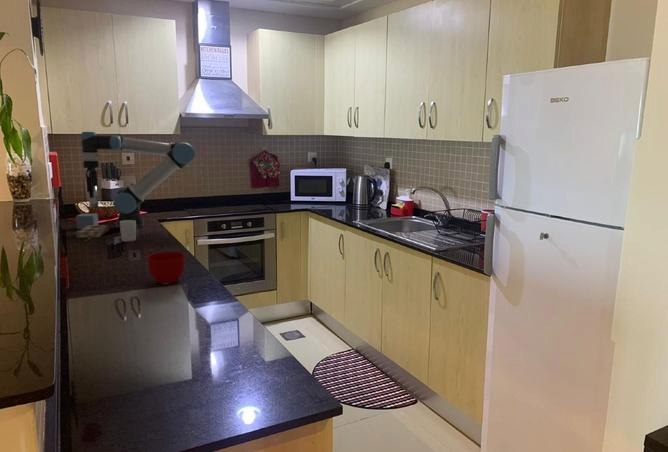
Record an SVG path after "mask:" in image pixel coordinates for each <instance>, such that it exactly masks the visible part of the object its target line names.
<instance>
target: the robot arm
mask: <svg viewBox="0 0 668 452" xmlns="http://www.w3.org/2000/svg"><path fill="white" fill-rule="evenodd" d="M81 149H82V165H83V168H85V169H86V170H87V171H86V173H85V179H86V181H85V182H86V192H87V193H88V199H89V200H88V202H89V201H90V204H95V192H94V186H97V191H100V189H99V177H98V174H99V173H98V171H97V170H96V169H98V168H99V165H100V164H99V161H98V160H99V157H100V155H99V152H98V151H99V150H106V151H107V150H109V151H110V150H113V151H115V150H118V151H125V152H133V153H141V154H149V155H156V156H163V157H165V158H163V160H161V162H159V163H158V164H157V165H156V166H154V167H153V168H152V169H151V170H150V171H148V172H147V173H146V174H145V175H144V176H142V177H141V178H140V179H139V180H138V181H137V182H136V183H135V184H133V185H127V187H120V188H119V187H118V189H117V195H115V197H114V199H113V207H114V208H115V209H116V211H117V212H118V216H117V221H116V224H115V225H116V229H120V223H119V222H120V221H124V220H135V221H136V229H139V228H143V227H144V226H145V221H144V219H143V217H142V215H141V207H140V205H141V204H142V203H143V202H145V197H146V196H148V194H150V193H151V192H152V191H153V190H154V189H156V188H157V187H158V186H159V185H160V184H161V183H163V182H164V181H165V180H166V179H167V178H168V177H170V176H171V175H172V174H173V173H174V172H176V171H177V170H182V169H183V168H184V167H185V166H187V165H188V164H190V163H191V162H193V160H194V158H195V155H196V152H195V149H194V146H192V144H190V143H188V142H184V141H182V142H174V141H170V142H160V141H154V140H153V141H152V140H145V139H139V138H134V137H127V136H125V137H124V136H119V135H113V134H112V135H98V134H97V131H82V132H81Z"/></svg>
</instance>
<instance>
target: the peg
mask: <svg viewBox="0 0 668 452" xmlns="http://www.w3.org/2000/svg"><path fill="white" fill-rule="evenodd" d="M94 192H95V204H90V201H89V200H88V203H89V209H99V194H98V190H97V186H94Z"/></svg>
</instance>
